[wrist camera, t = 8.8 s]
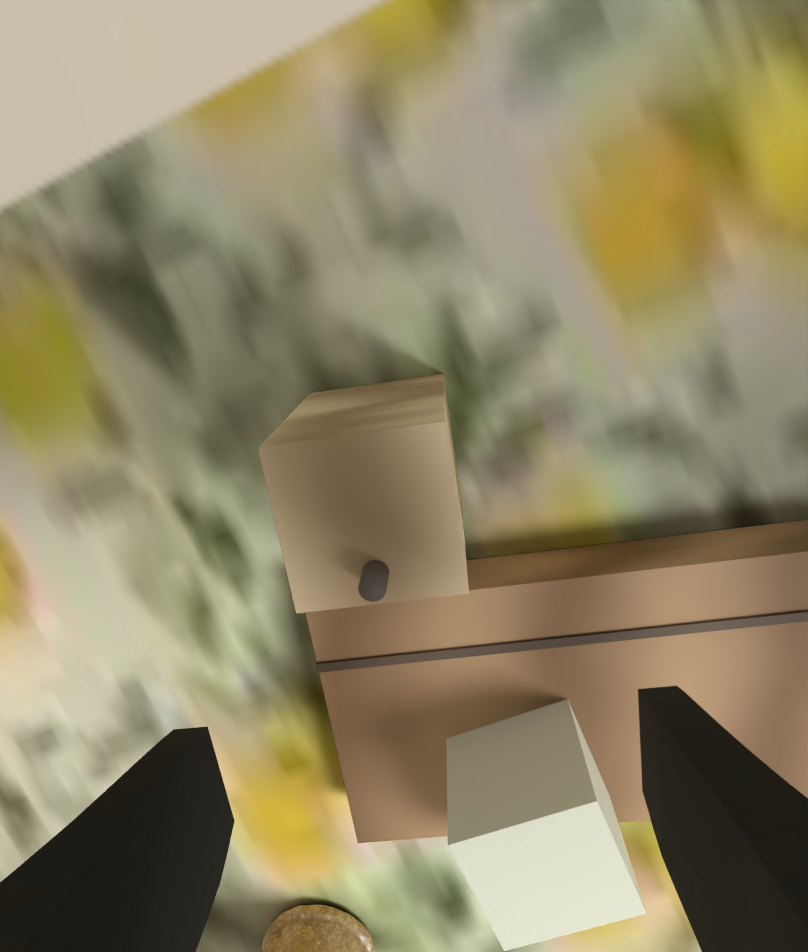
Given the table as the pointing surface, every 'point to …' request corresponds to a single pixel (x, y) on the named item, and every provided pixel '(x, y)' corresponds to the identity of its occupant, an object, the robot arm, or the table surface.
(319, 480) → the block
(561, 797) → the offcut block
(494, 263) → the table surface
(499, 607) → the plank
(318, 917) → the sprinkles bottle
